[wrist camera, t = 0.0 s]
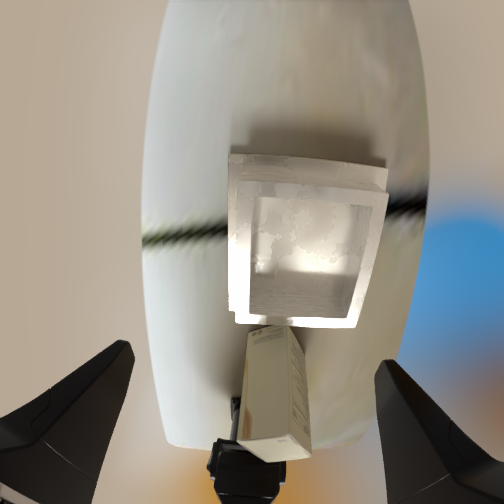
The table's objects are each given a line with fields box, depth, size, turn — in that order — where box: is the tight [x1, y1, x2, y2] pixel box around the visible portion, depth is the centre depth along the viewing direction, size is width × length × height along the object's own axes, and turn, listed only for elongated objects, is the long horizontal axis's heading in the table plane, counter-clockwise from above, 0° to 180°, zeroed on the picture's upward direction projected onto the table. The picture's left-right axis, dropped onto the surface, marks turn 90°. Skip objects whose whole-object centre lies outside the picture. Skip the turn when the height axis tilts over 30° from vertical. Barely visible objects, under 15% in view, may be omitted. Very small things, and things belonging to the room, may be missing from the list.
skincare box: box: [237, 325, 312, 462], centre depth 23 cm, size 6×4×12 cm
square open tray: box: [228, 153, 389, 328], centre depth 21 cm, size 14×12×4 cm
